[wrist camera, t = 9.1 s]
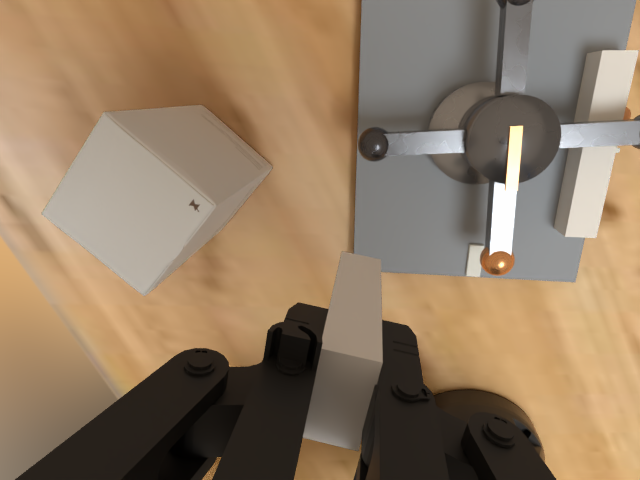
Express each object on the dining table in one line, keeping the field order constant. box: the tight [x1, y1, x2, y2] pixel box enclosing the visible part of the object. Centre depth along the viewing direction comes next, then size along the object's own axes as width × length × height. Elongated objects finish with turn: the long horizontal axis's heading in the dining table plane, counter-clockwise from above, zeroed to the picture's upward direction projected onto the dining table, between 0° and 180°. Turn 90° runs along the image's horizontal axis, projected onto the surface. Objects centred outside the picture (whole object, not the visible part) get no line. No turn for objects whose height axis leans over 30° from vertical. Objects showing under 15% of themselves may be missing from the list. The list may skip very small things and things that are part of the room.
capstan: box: [358, 0, 640, 276], centre depth 32 cm, size 22×22×6 cm
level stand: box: [354, 0, 639, 282], centre depth 35 cm, size 24×21×4 cm
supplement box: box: [42, 105, 273, 296], centre depth 34 cm, size 9×9×15 cm
